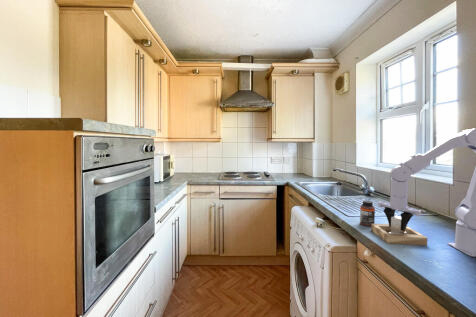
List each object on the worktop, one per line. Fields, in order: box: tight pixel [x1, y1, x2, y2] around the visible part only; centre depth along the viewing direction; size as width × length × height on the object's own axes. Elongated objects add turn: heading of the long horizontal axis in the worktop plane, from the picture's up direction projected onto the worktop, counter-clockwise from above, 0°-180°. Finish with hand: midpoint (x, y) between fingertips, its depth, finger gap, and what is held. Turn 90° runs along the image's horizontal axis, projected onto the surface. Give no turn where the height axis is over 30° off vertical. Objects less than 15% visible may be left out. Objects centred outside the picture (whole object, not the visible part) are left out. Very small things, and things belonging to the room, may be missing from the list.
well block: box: [370, 223, 428, 246], centre depth 89 cm, size 13×14×3 cm
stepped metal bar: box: [389, 214, 406, 234], centre depth 89 cm, size 4×7×8 cm, turn 120°
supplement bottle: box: [359, 199, 376, 227], centre depth 103 cm, size 6×6×11 cm
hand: (397, 227), depth 89 cm, fingers open, 4 cm apart
